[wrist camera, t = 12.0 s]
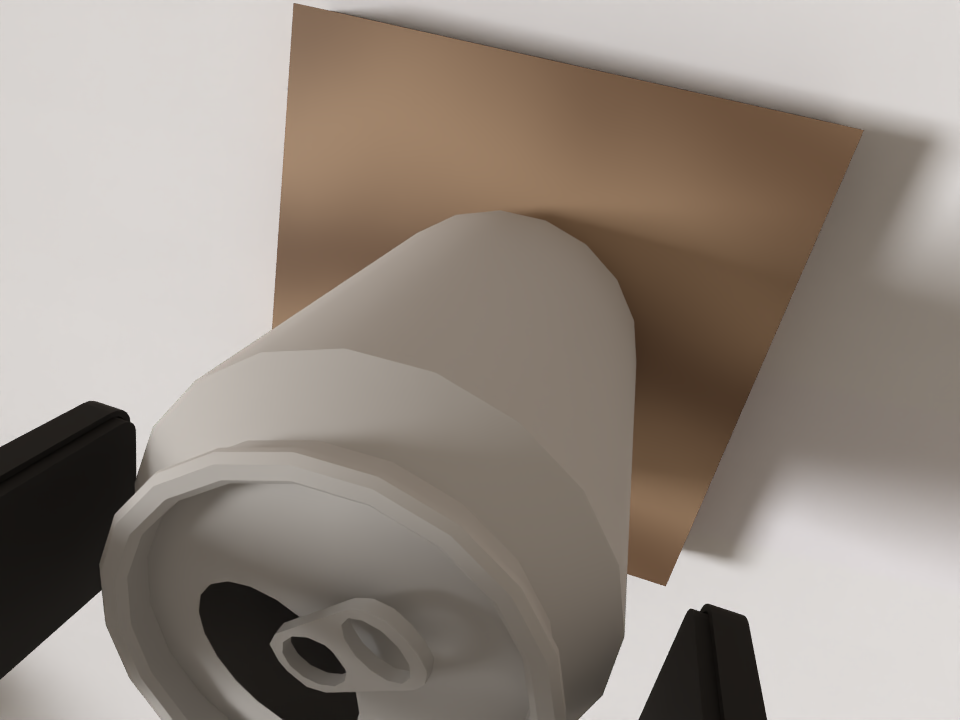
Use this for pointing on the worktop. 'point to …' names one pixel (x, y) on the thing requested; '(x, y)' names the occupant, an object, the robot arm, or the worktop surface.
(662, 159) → the walnut board
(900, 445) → the worktop surface
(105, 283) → the worktop surface
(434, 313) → the can
